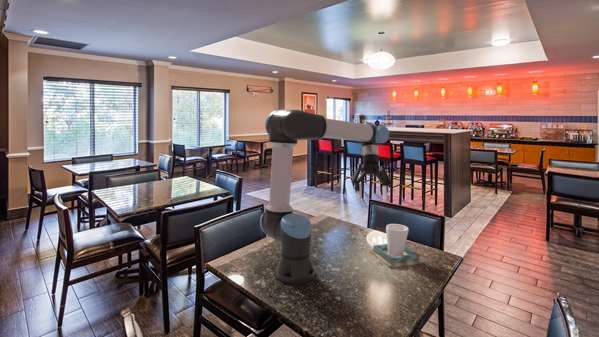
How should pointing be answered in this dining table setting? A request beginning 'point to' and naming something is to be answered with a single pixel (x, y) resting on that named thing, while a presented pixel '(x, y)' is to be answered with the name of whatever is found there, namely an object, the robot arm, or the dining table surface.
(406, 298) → the dining table surface
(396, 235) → the foam cup
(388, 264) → the plate
